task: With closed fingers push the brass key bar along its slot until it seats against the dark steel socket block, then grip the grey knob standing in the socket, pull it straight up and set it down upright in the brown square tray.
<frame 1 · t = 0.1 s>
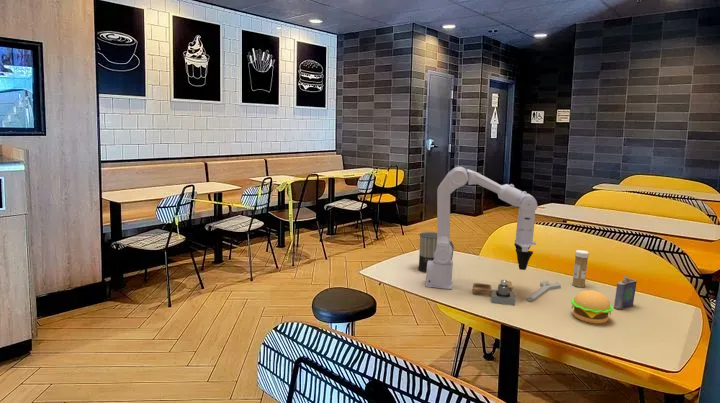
hand: (521, 266, 171), 10 cm above the table, tool pointing down, fingers open, 7 cm apart
brown square tray: (481, 292, 172), on the table
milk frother: (433, 267, 200), on the table
socket block: (502, 300, 166), on the table
sprinkles bottle: (578, 286, 183), on the table
flask: (623, 307, 163), on the table
key bar: (507, 287, 175), point 1 cm above the table, slide at 3.0 cm
hamburger: (590, 318, 153), on the table
grey knob: (503, 290, 165), in the socket block
adjustable wrench: (539, 293, 175), on the table
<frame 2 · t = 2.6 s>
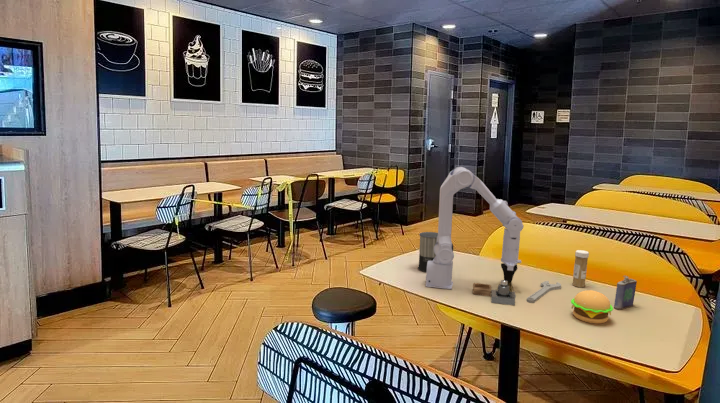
hand: (507, 283, 178), 2 cm above the table, tool pointing down, fingers closed
key bar: (508, 288, 174), point 1 cm above the table, slide at 1.8 cm, touching gripper
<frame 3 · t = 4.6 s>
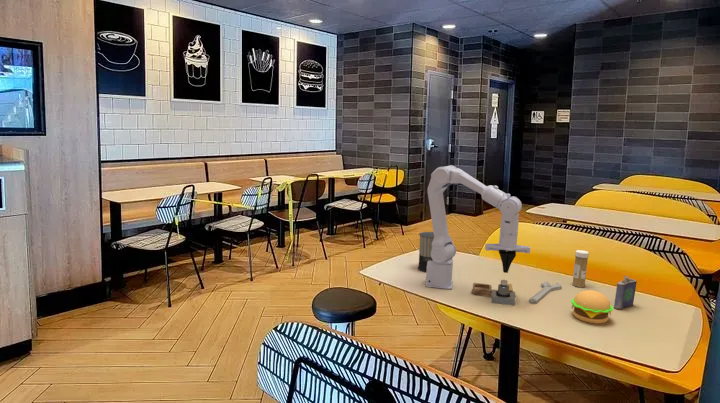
hand: (505, 271, 165), 10 cm above the table, tool pointing down, fingers closed
key bar: (508, 290, 172), point 1 cm above the table, slide at 0.0 cm
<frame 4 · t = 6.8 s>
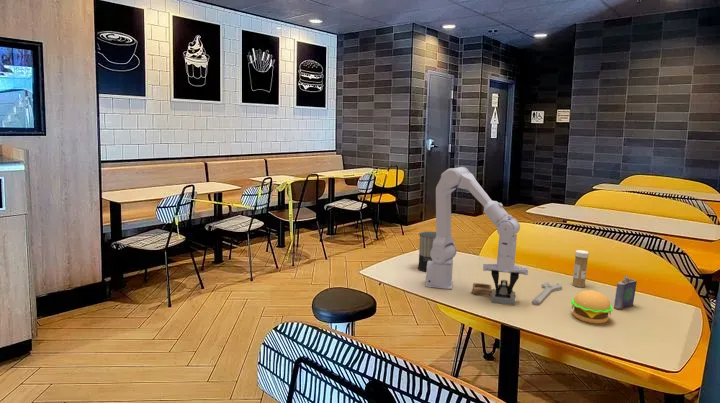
hand: (503, 292, 165), 3 cm above the table, tool pointing down, fingers closed on grey knob, 4 cm apart
grey knob: (503, 290, 165), in the socket block, touching gripper
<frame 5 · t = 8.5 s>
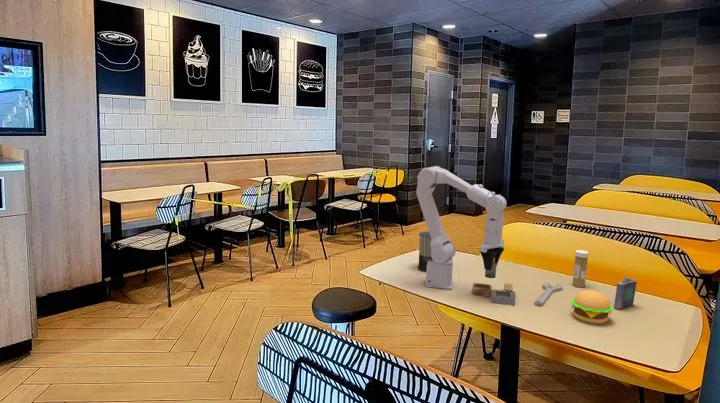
hand: (490, 268, 168), 10 cm above the table, tool pointing down, fingers closed on grey knob, 4 cm apart
grey knob: (490, 266, 168), point 10 cm above the table, touching gripper
when the fingers open (5 cm above the table, at t = 10.1 s): grey knob stays where it is, resting on brown square tray.
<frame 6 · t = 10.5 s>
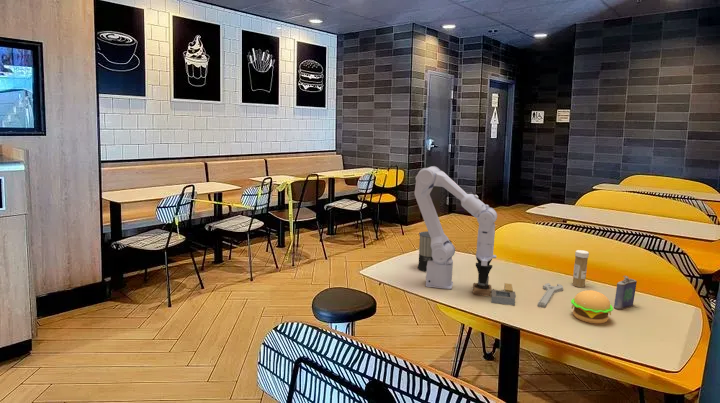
hand: (482, 279, 172), 5 cm above the table, tool pointing down, fingers open, 7 cm apart
grey knob: (483, 280, 172), in the brown square tray, point 4 cm above the table
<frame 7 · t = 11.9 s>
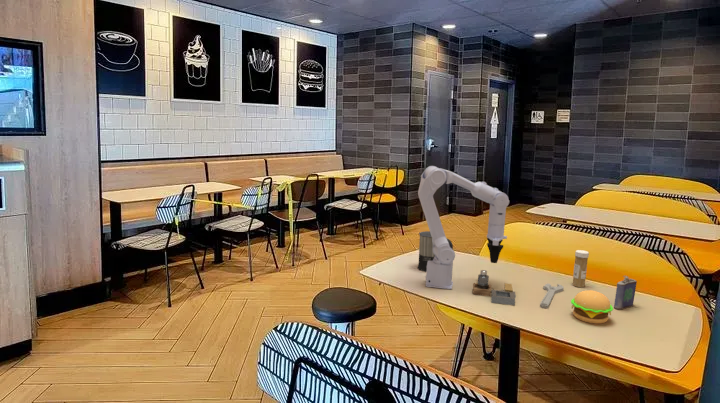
hand: (493, 259, 179), 10 cm above the table, tool pointing down, fingers open, 7 cm apart
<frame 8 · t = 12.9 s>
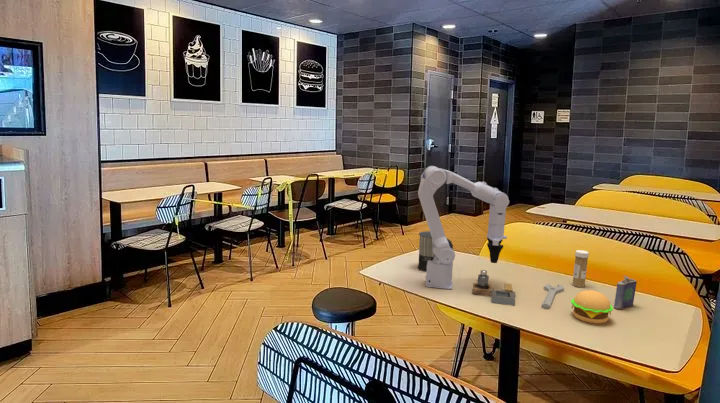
hand: (493, 259, 179), 10 cm above the table, tool pointing down, fingers open, 7 cm apart
at the end: grey knob 0.2 cm off-centre on the brown square tray, point 4.5 cm above the brown square tray's base; grey knob tilted 1°; key bar slide at 0.0 cm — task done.
